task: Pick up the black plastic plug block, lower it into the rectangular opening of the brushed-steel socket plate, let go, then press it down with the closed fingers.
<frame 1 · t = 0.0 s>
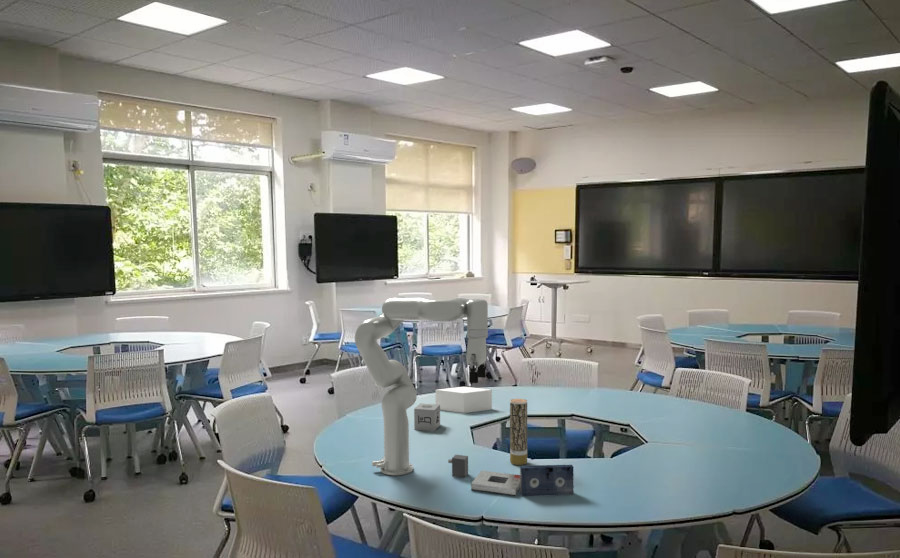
hand: (477, 379, 218), 37 cm above the table, tool pointing down, fingers open, 9 cm apart
block: (463, 409, 317), on the table
plug: (460, 475, 224), on the table
icon cube: (427, 427, 285), on the table
vhs cassette tape: (546, 494, 207), on the table
socket plate: (497, 486, 213), on the table
paper tube: (518, 463, 237), on the table
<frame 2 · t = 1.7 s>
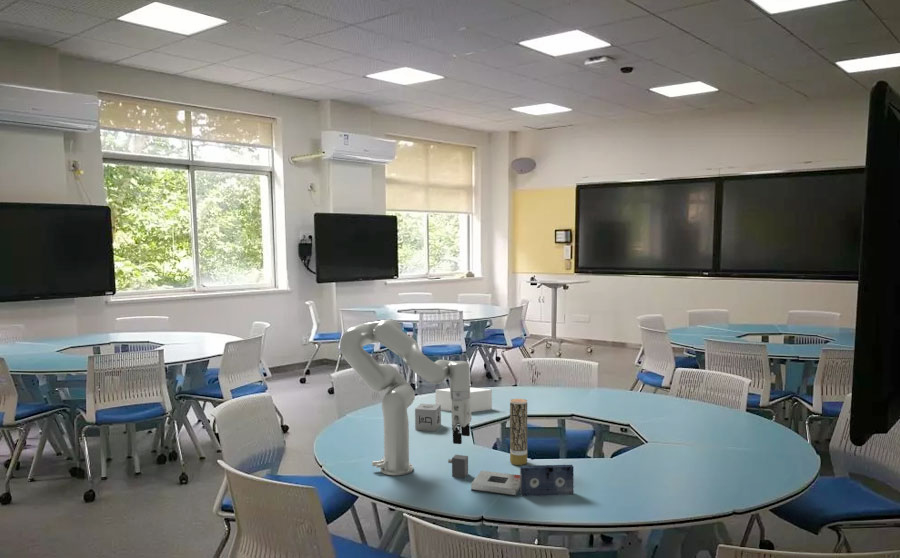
hand: (461, 439, 223), 14 cm above the table, tool pointing down, fingers open, 9 cm apart
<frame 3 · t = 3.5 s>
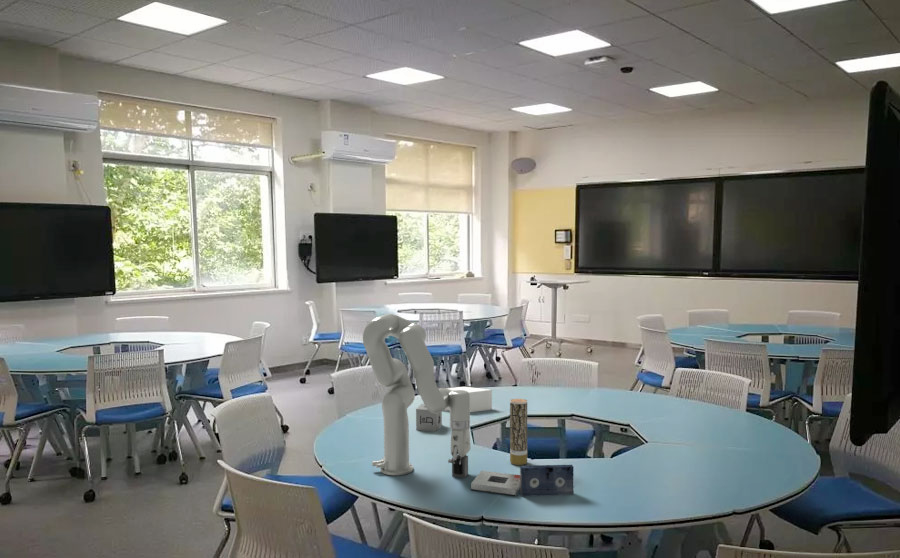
hand: (460, 471, 224), 1 cm above the table, tool pointing down, fingers closed on plug, 4 cm apart
plug: (460, 475, 224), on the table, touching gripper
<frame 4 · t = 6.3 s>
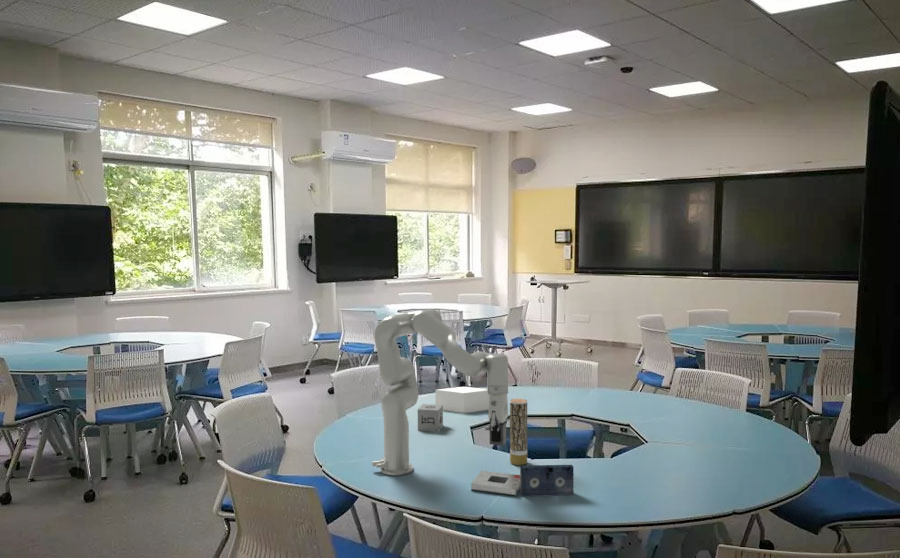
hand: (497, 439, 213), 17 cm above the table, tool pointing down, fingers closed on plug, 4 cm apart
plug: (497, 443, 213), point 16 cm above the table, touching gripper
when the fingers open (3 cm above the table, at t = 9.1 s): plug drops 2 cm, resting on socket plate.
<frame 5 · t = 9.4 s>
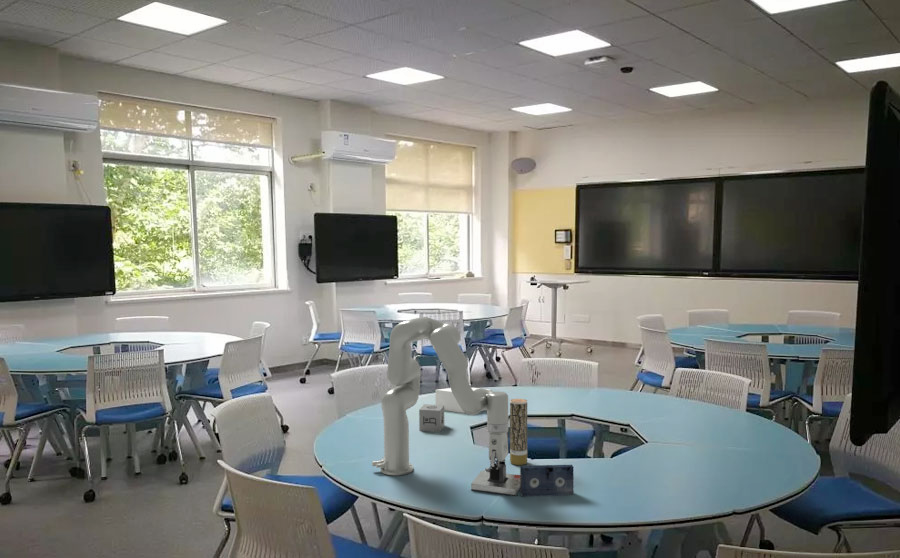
hand: (497, 475, 213), 4 cm above the table, tool pointing down, fingers open, 7 cm apart
plug: (497, 484, 213), resting on socket plate
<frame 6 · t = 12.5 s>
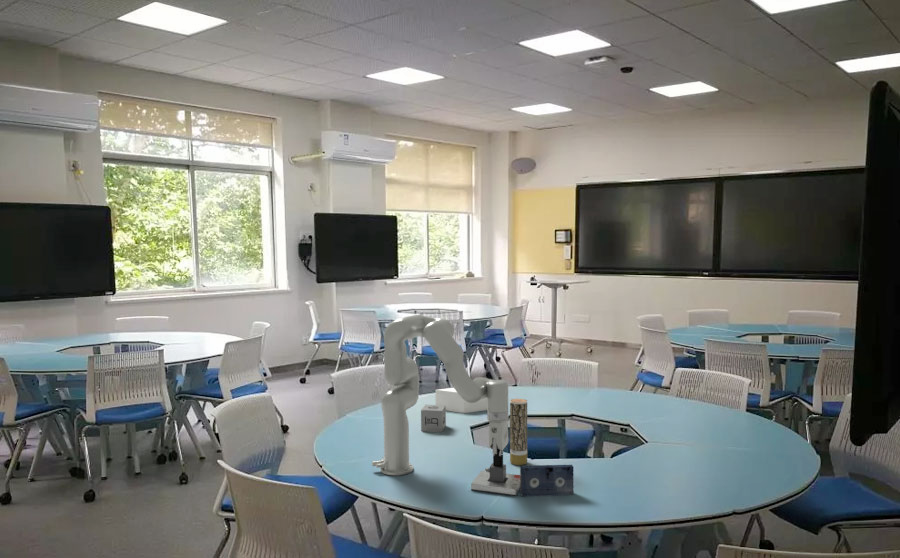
hand: (498, 465, 213), 8 cm above the table, tool pointing down, fingers closed
plug: (497, 484, 213), resting on socket plate, touching gripper
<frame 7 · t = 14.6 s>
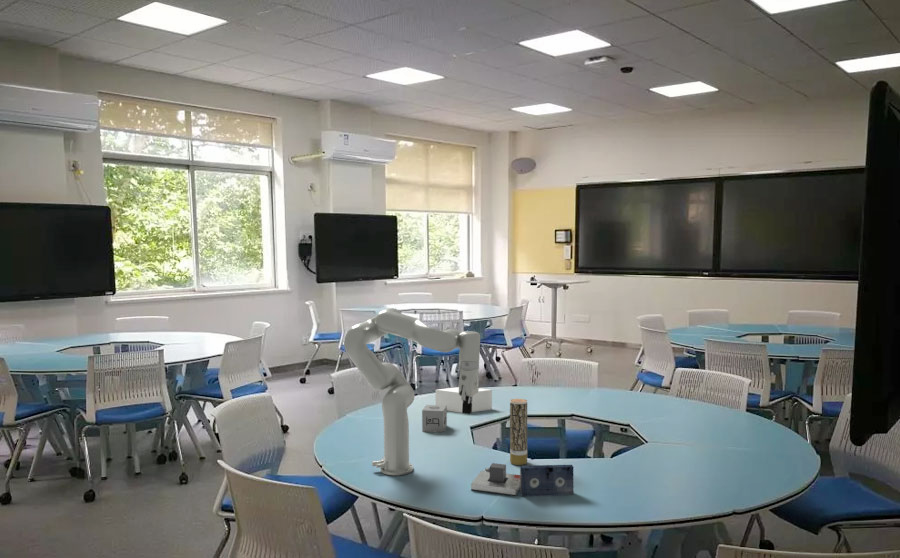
hand: (466, 413, 223), 24 cm above the table, tool pointing down, fingers closed
plug: (497, 484, 213), resting on socket plate
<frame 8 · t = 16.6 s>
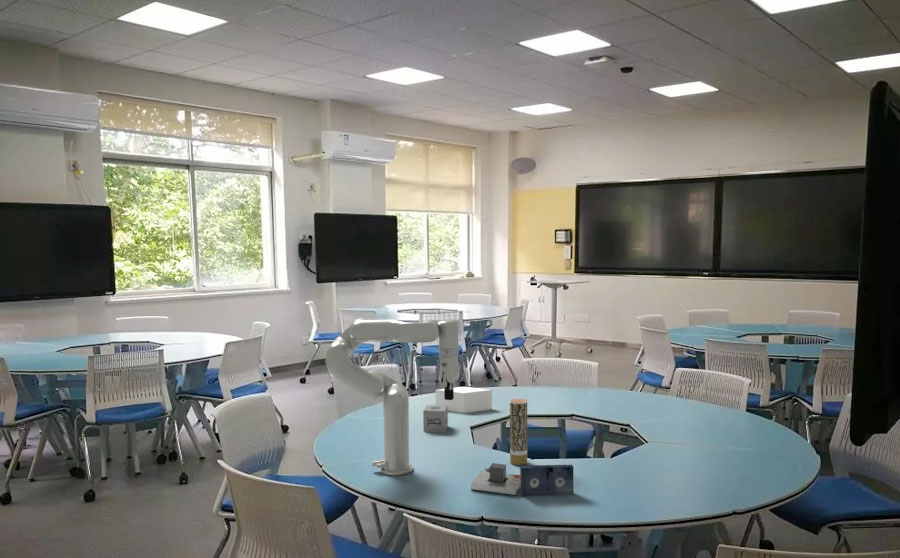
hand: (449, 399, 230), 27 cm above the table, tool pointing down, fingers closed
at the end: plug 0.1 cm off-centre on the socket plate, point 0.5 cm above the socket plate's base; plug tilted 0°; the gripper is holding nothing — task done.
